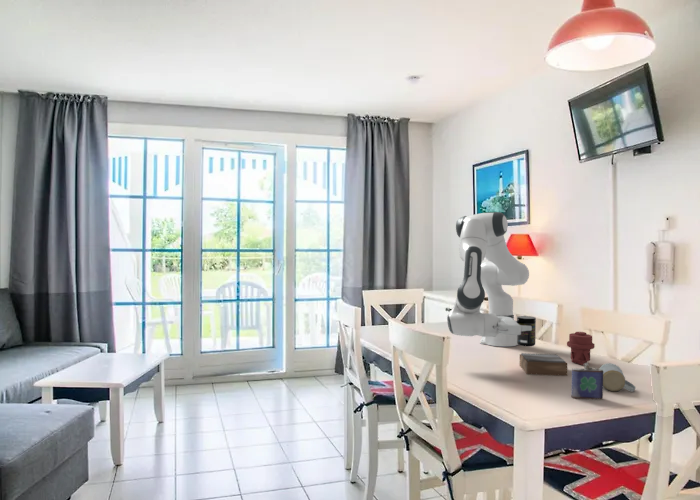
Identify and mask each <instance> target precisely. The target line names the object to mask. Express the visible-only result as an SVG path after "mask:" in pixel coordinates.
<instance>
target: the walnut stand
mask: <svg viewBox="0 0 700 500" xmlns="http://www.w3.org/2000/svg"><path fill="white" fill-rule="evenodd" d="M519 367H520V368H521V370H523V371H524V372H525V373H526V375H536V376H537V375H539V376H542V375H543V376H566V377H568V363H567V361H565V359H563V358H562V357H561V356H559V355H558V354H557V353H556V354H555V353H531V352H530V353H527V352H525V353H523V352H521V353H520V354H519Z"/></svg>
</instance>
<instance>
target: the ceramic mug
mask: <svg viewBox="0 0 700 500" xmlns="http://www.w3.org/2000/svg"><path fill="white" fill-rule="evenodd" d="M598 369H601V370H603V388H604V389H606V390H608V391H611V392H619V391H621V390H622V389H623V390H624V389H625V390H626V391H628V392H630V393H631V392H632V393H634V392H635V391H636V388H637V387H636V386H635V385H634V384H632V382H630V381H628V379H627V380H626V378H625V377H626V376H625V374H624V372H623V370H622V369H621V368H620V367H619V365H616V364H615V363H610V362H608V363H604V364H602V365H600V367H599V368H598Z"/></svg>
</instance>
